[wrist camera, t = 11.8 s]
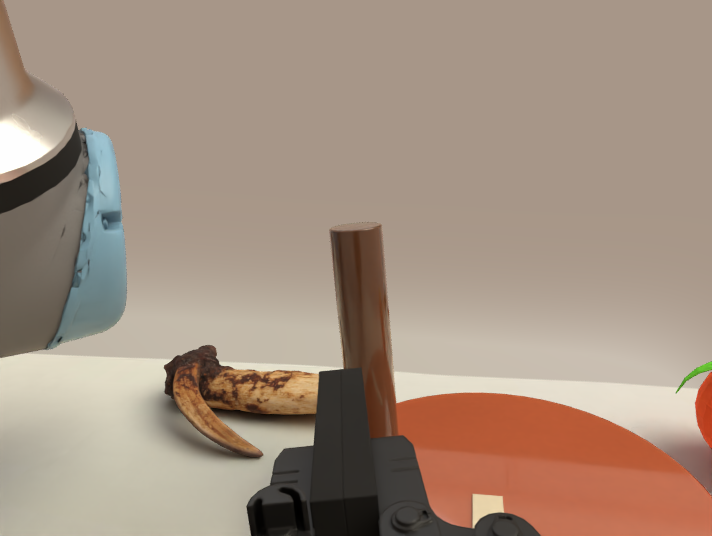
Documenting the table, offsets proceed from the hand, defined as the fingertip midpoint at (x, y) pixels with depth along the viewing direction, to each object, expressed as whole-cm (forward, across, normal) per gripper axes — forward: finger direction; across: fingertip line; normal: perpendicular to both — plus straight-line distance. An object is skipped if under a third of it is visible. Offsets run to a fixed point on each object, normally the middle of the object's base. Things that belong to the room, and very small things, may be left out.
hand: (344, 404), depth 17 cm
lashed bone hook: (+19, -9, -11) cm, 24 cm away
